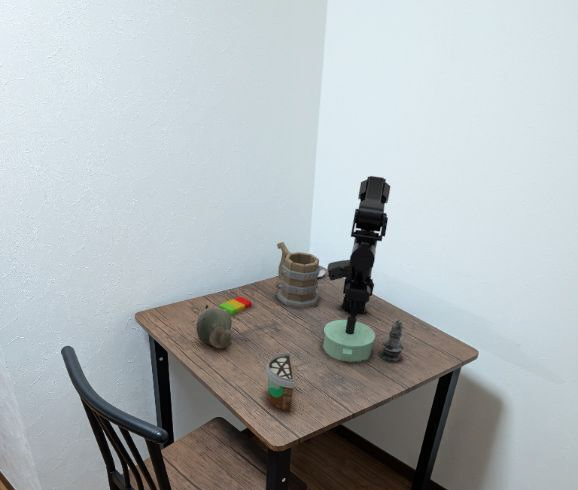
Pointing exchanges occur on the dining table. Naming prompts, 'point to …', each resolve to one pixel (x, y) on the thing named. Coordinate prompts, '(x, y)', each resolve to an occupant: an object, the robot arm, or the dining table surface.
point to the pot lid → (349, 333)
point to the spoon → (318, 275)
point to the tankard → (298, 278)
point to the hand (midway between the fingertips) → (353, 309)
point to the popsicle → (235, 305)
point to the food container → (280, 382)
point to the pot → (346, 351)
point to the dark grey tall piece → (393, 343)
